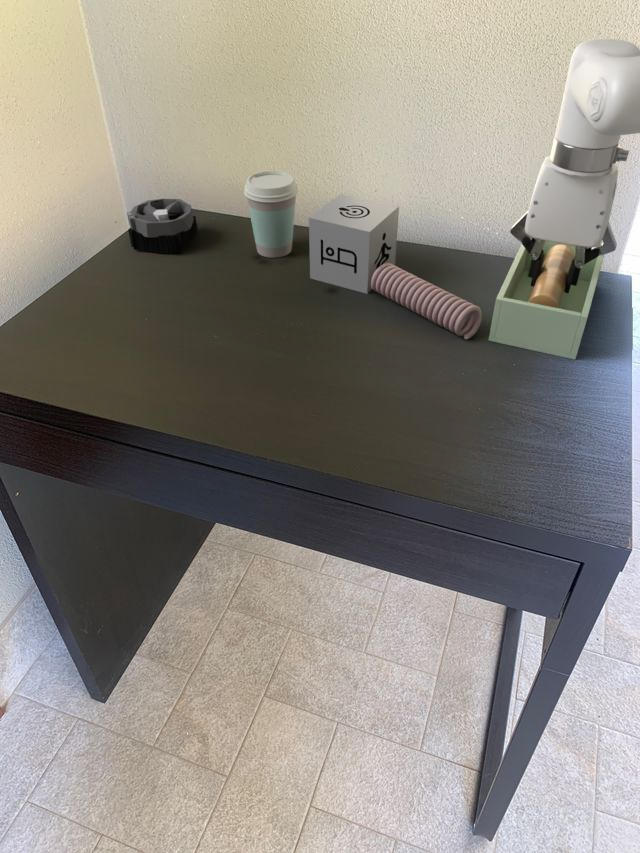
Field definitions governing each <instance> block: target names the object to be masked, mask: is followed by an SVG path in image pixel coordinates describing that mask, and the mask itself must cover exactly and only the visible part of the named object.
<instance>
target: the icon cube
mask: <svg viewBox="0 0 640 853" xmlns="http://www.w3.org/2000/svg"><path fill="white" fill-rule="evenodd" d="M399 214H400V206H399V205H395V204H391V203H386V202H381V201H378V200H377V201H376V200H373V199H368V198H364V197H359V196H353V195H349V194H346V193H345V194H344V193H340V194H338V195H337V196H335V198H333V199H332V200H330V201H329V202H327V203H326V204H325V205H324V206H322V207H321V208H320V209H318V210H316V212H314V213H313V214H311V216H309V217H308V241H309V242H308V244H309V245H308V246H309V278H310V279H311V280H314V281H318V282H322V283H325V284H328V285H333V286H336V287H341V288H344V289H348V290H351V291H355V292H358V293H362V294H366V295H368V294H369V293H370V292H371V291H372V290H373V289H372V287H371V279H372V276H373V274H374V272H375V271H376V270H377V268H378V267H380V266H381V265H383V264H386V263H390V264H392V265H394V266H396V259H397V258H396V257H397V241H398V228H399Z"/></svg>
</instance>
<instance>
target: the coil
mask: <svg viewBox="0 0 640 853" xmlns="http://www.w3.org/2000/svg"><path fill="white" fill-rule="evenodd" d="M371 287H372V290H373V292H375V293H378V294H379V295H381V296H383V297H384V298H387V299H388V300H391V301H393V302H394V303H397V304H398V305H401V306H402V307H403V308H407V310H409V311H412V312H413V313H415V314H417V315H419V316H421V317H423V318H424V319H427V320H428V321H429V322H433V323H434V324H435V325H438V326H440V327H442V328H445V330H446V331H450V333H453V334H456V335H457V336H458V337H462V336H463V339H465V340H468V339H471V338H473V336H474V335H475V334H476V333H477V332H478V330H479V328H480V326H481V323H482V318H483V313H482V310H481V308H480V307H479V306H478V305H476V304H473V303H472V302H468V301H467V300H465V299H463V298H461V296H460V297H459V296H456V294H454V293H451V292H449V291H447V290H445V289H443V288H441V287H439V286H438V285H434V284H433V283H431V282H429V281H427V280H424V279H423V278H420V277H418V276H417V275H414V274H413V273H411V272H409V271H407V270H404V269H402V268H400V267H399V266H396V265H395V266H394V265H392V264H390V263H386V264H383V265H381V266H380V267H378V268H377V270H376V271H375V272H374V274H373V276H372V279H371Z"/></svg>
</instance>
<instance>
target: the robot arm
mask: <svg viewBox="0 0 640 853" xmlns="http://www.w3.org/2000/svg"><path fill="white" fill-rule="evenodd" d="M558 114H559V115H558V119H557V124H556V127H555V128H556V129H555V133H554V137H553V143H552V147H551V152H550V155H548V156H546V157H545V158H544V160H543V162H542V163H541V167H540V169H539V172H538V175H537V177H536V182H535V185H534V187H533V191H532V194H531V198H530V202H529V207H528V210H527V211H525V213H523V215H522V216H521V217H520V218H519V219H518V220H517V221H516V222H515V223H514V224H513V225H512V227H511V228H510V231H509V232H510V234H511V235H512V236H513V237H514V238H515V239H516V240H518V241H519V242H520V243H521V244H522V245H523V246H524V247H525V249H526V250H527V251H528V253H529V254H530V258H531V259H532V260H531V265H530V269H529V274H528V277H531V278H532V282H531V286H533V287H534V286H535V283H536V281H537V279H538V276H539V274H540V271H541V268H542V264H543V260H544V255H545V254H543V253H544V252H543V249H542V248H543V246H544V244H545V242H546V241H550V242H555V243H561V244H567V245H573V246H576V247H575V257H574V259H572V262H571V265H570V268H569V272H568V276H567V280H566V286H565V290H564V292H565V293H569V290H570V287H571V285H573V286H576V285H577V281H578V278H579V274H580V270H581V268H582V267H583V266H584V265H585V264H586V263H588V262H590V261H592V260H593V259H595V258H597V257H598V256H600V255H604V256H605V255H607V254H610V253H612V252H615V251H616V249H617V246H618V245H617V244H618V243H617V240H616V238H615V235H614V232H613V230H612V227H611V224H610V222H609V221H610V217H611V212H612V209H613V205H614V200H615V196H616V189H617V186H618V176H619V175H618V174H619V166H618V165H617V162H618V163H620V162H627V161H628V156H629V153H630V149H624V147H621V144H619V143H620V139H621V136H626V135H627V136H628V135H637V134H640V47H638V46H637V44H635V43H633V42H631V41H628V40H623V39H618V38H608V37H607V38H605V37H603V38H590V39H587V40H585V41H584V40H583V41H582V42H580V43H579V44H578V45H576V47H575V48H574V50H573V52H572V55H571V57H570V61H569V66H568V71H567V77H566V81H565V86H564V91H563V96H562V101H561V104H560V110H559V113H558ZM535 239H537V240H535ZM587 248H588V249H587Z"/></svg>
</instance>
